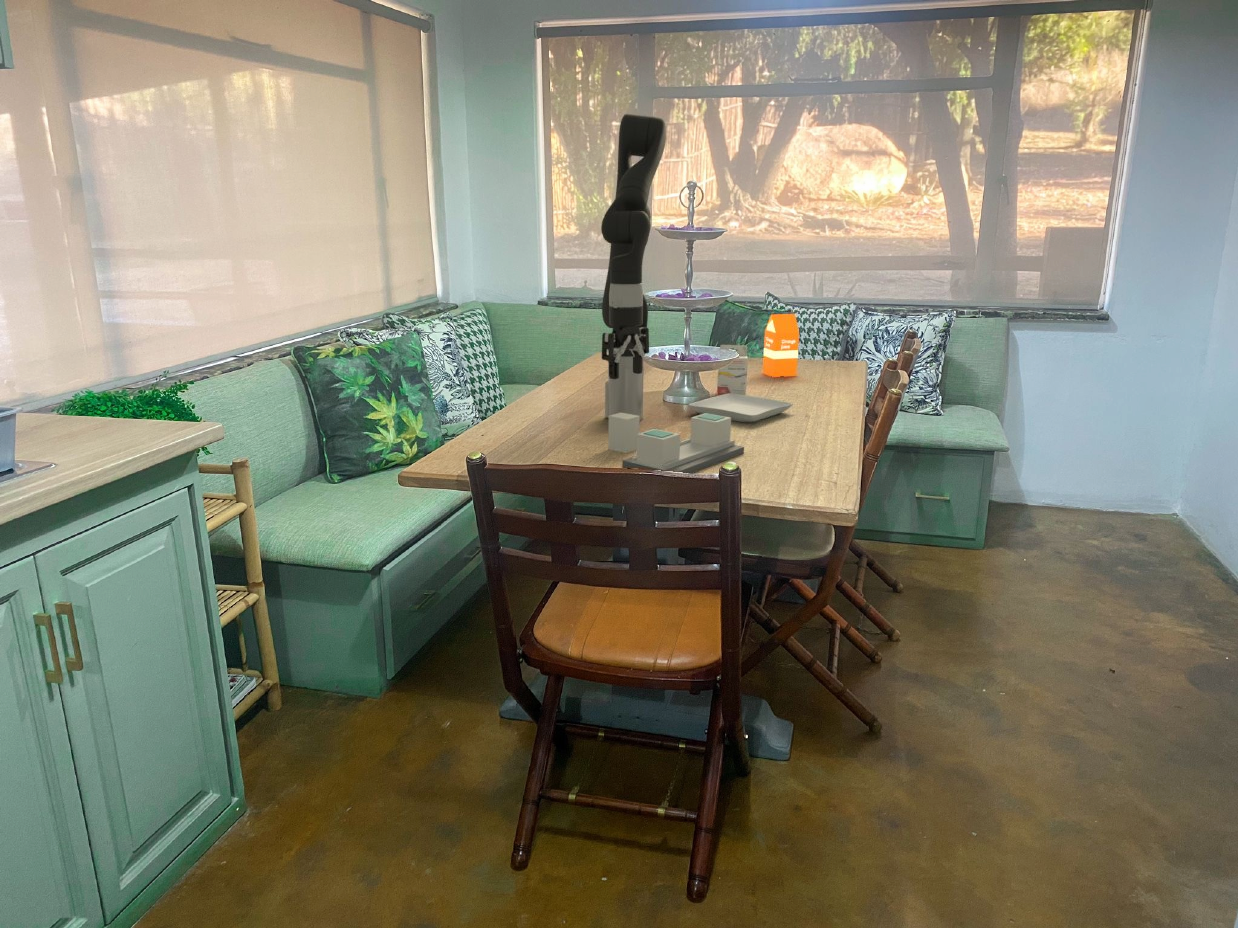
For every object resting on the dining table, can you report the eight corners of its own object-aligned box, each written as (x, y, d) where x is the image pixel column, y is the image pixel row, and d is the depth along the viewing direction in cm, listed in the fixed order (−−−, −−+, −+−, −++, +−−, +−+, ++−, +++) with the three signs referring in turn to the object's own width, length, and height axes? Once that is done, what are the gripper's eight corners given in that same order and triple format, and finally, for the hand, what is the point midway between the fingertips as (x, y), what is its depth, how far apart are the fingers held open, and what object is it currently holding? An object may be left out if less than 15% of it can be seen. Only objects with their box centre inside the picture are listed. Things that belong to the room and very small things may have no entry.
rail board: (622, 467, 195) (622, 430, 193) (693, 442, 215) (694, 409, 213) (674, 479, 186) (675, 442, 184) (743, 453, 206) (745, 418, 204)
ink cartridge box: (717, 396, 266) (718, 347, 262) (716, 393, 271) (718, 344, 266) (746, 397, 265) (748, 347, 261) (745, 393, 270) (748, 345, 266)
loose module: (608, 449, 209) (608, 415, 207) (620, 445, 212) (620, 412, 210) (626, 453, 206) (627, 419, 203) (639, 449, 209) (639, 416, 207)
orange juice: (762, 373, 303) (765, 313, 297) (785, 371, 305) (789, 312, 300) (772, 377, 296) (776, 316, 290) (796, 375, 298) (800, 315, 292)
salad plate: (728, 403, 259) (728, 391, 258) (793, 414, 246) (794, 401, 245) (685, 415, 243) (686, 403, 242) (753, 428, 230) (754, 415, 229)
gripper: (632, 300, 207) (632, 370, 212) (592, 305, 196) (592, 378, 201) (658, 302, 203) (657, 373, 207) (619, 307, 192) (619, 382, 196)
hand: (625, 376), depth 204 cm, fingers open, 8 cm apart
